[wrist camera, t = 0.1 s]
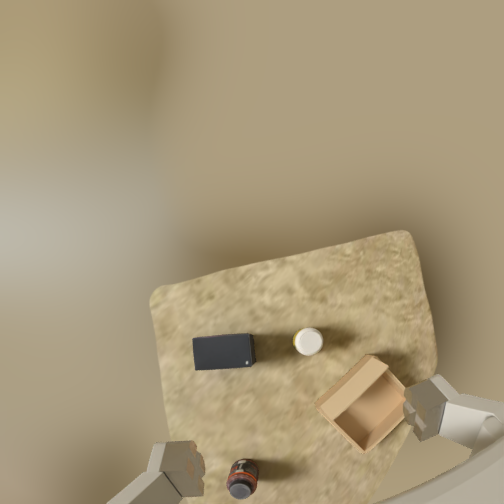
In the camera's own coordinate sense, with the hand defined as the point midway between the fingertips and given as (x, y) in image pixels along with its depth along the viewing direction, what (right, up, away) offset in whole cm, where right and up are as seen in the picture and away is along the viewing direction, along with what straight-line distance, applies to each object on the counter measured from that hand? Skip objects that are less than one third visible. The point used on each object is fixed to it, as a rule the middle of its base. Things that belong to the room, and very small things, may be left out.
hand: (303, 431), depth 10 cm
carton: (+22, -25, +48) cm, 58 cm away
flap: (+17, -18, +41) cm, 48 cm away
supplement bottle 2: (+9, -12, +53) cm, 55 cm away
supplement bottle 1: (-3, -41, +46) cm, 61 cm away
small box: (-7, -14, +53) cm, 55 cm away
